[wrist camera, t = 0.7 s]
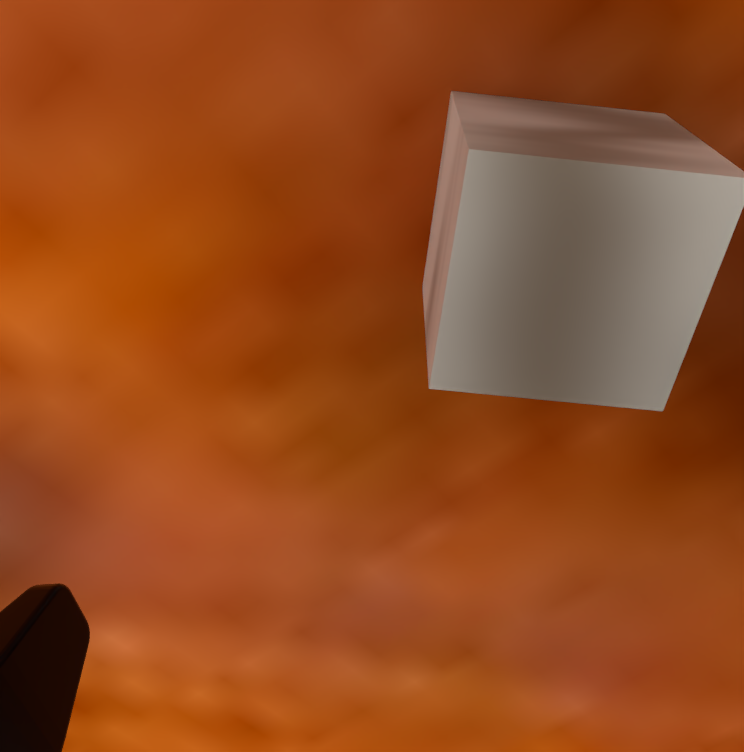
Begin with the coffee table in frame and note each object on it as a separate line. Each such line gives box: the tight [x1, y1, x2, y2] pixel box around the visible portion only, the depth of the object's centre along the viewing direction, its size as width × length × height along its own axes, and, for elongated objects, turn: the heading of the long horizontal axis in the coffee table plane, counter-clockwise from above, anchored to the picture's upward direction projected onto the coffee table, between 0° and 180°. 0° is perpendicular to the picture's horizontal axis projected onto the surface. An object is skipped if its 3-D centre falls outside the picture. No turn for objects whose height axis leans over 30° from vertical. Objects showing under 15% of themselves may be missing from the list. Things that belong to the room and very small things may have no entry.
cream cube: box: [422, 91, 744, 411], centre depth 16 cm, size 5×5×5 cm
